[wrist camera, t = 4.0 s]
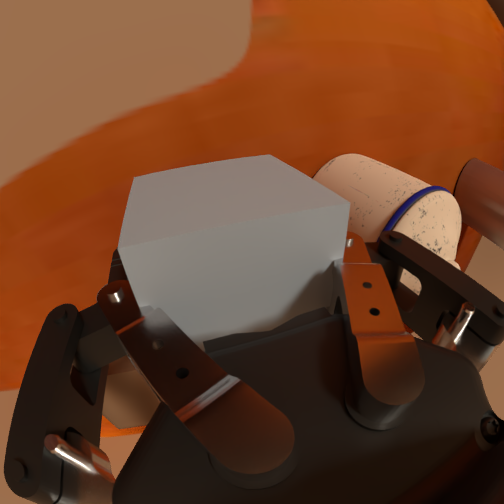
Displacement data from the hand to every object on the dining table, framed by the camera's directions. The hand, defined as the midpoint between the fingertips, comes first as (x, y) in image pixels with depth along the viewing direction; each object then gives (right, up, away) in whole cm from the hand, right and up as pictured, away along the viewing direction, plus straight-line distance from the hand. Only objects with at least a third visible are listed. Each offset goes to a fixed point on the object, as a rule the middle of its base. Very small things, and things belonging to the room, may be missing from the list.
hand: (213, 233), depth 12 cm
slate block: (0, 0, +1) cm, 1 cm away
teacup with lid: (+11, +4, +10) cm, 15 cm away
